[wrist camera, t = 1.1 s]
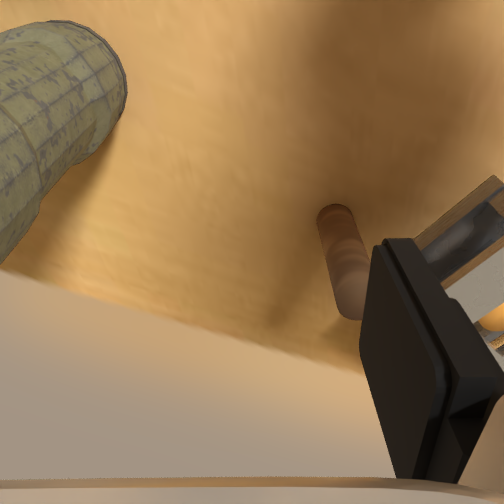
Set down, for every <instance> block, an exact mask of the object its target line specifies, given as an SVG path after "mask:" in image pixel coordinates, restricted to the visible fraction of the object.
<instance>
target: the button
mask: <svg viewBox="0 0 504 504" xmlns="http://www.w3.org/2000/svg"><path fill="white" fill-rule="evenodd" d="M478 321H479V323H480V324H481V326H482V327H484V328H485V329H487V330H490V331H504V303H503V304H501V305H500V306H498V307H497V308H495V309H494V310H492V311H491V312H489V313H488V314H486V315H485V316H484V317H482V318H481V319H479V320H478Z"/></svg>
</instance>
